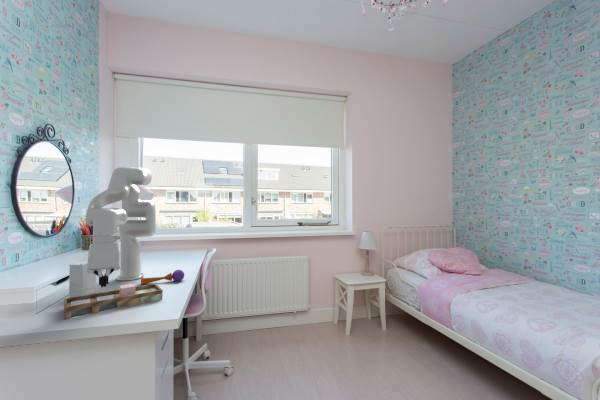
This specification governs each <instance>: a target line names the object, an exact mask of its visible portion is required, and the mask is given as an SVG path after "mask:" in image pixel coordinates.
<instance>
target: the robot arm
mask: <svg viewBox="0 0 600 400" xmlns="http://www.w3.org/2000/svg"><path fill="white" fill-rule="evenodd" d="M152 178H153V177H152V172H151V170H150V169H148V168H145V167H144V168H143V167H128V166H127V167H126V166H121V167H117V168H115V169H114V170H113V171H112V173H111V177H110V180H109V183H108V186H107V189H105V190H103V191H101V192H100V193H98V194H97V195H96V196H94V197H93V198H92V199H91V200H90V201H89V204H88V207H87V210H86V213H85V222H86V224H87V225H89V226H90V227H92V243H90V244H89V247H88V252H87V253H88V254H87V255H88V256H87V260H88V269H87V273H93V274H96V277H98V285H99V286H100V287H101V288H106V287H107V285H108V284H109V277H110V275H111V274H112V273H113V272H114V271H115V272H116V271H119V275H117V276H116V280H117V281H123V282H124V281H134V280H138V279H141V278H144V275H145V274H144V273H143V272H141V271H142V269H141V265H142V264H141V262H142V260H141V259H142V244H141V242H140V241H139V240H138V239H137V238H148V237H149V238H150V237H153V236H154V235H155V233H156V228H157V227H156V226H157V225H156V223H157V222H156V216H157V214H156V205H155V202H154V201H153V200H148V199H141V191H140V189H139V187H138V186H147V185H149V184H151V182H152ZM117 202H121V208H119V207H118V208H117V207H113V208H112V207H111V208H109V207H105V206H107V205H110V204H114V203H117ZM104 207H105V208H104ZM128 218H145V219H128ZM117 227H118V233H119V236H118V235H117ZM117 240H119V241H120V249H119V243H118V242H117ZM102 270H105V272H104V274H103V273H102V272H103V271H102Z"/></svg>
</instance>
